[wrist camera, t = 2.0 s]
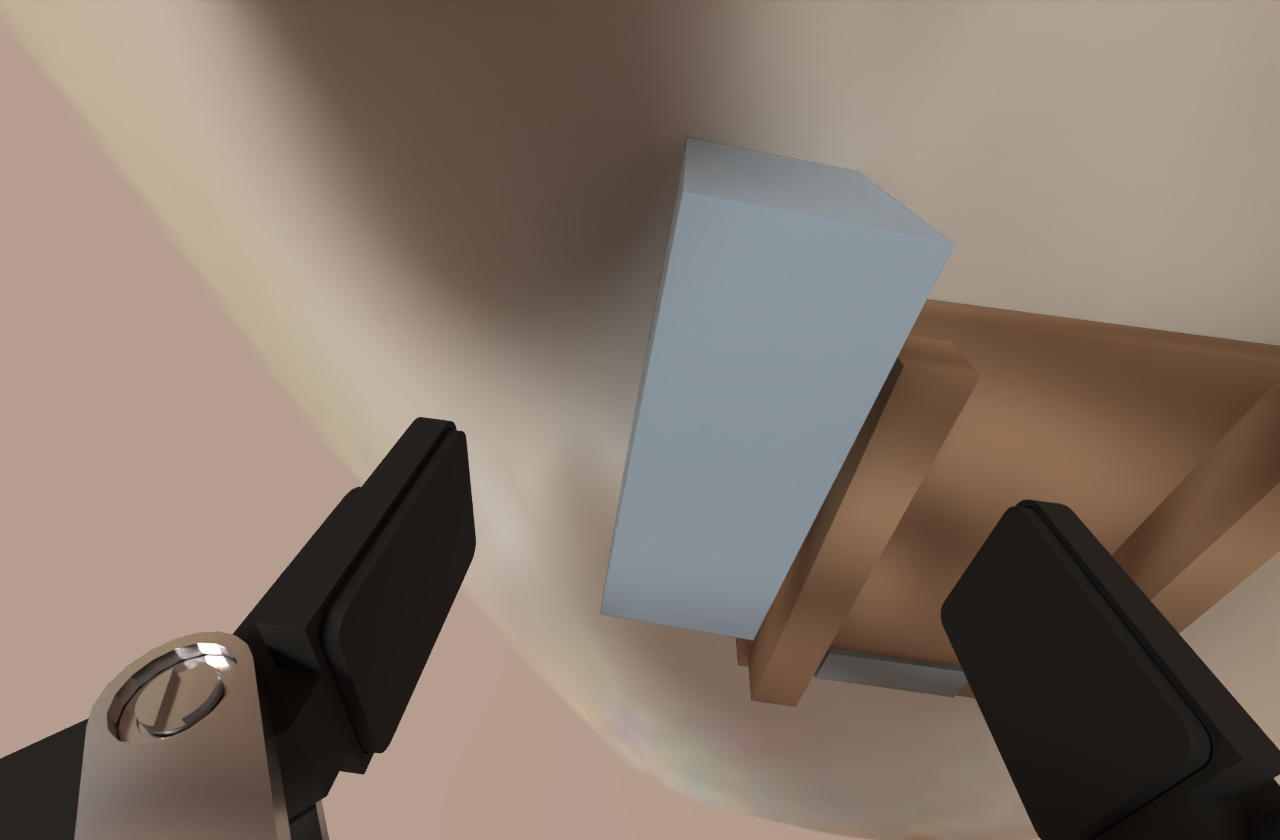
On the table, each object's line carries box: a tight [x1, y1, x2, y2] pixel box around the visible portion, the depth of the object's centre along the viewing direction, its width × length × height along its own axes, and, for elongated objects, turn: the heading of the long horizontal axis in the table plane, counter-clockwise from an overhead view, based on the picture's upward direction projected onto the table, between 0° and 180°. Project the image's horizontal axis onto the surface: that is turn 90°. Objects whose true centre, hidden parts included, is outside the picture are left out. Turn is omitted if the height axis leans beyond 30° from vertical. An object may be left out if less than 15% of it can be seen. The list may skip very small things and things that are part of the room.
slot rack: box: [736, 299, 1280, 707], centre depth 15 cm, size 14×19×2 cm
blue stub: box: [600, 138, 955, 640], centre depth 11 cm, size 9×4×5 cm, turn 171°
